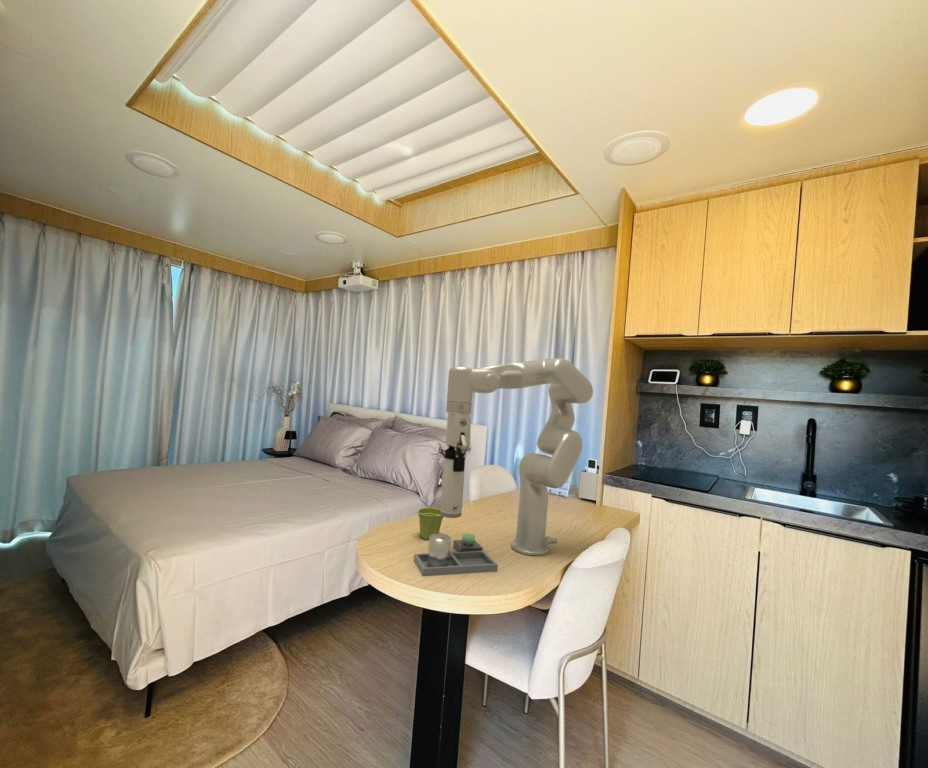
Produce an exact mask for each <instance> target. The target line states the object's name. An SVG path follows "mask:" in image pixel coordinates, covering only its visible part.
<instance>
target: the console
mask: <svg viewBox="0 0 928 768" xmlns="http://www.w3.org/2000/svg"><path fill="white" fill-rule="evenodd" d="M452 548H453V549H454V550H455V552H469V551H484V550H483V549H484V548H483V546H482V545H480V544H479V542H477V541H476V540H475V543H474V544H471V545H465V543H463V542H462V539H455V540H454V539H453V544H452Z"/></svg>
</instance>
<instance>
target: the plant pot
mask: <svg viewBox="0 0 928 768" xmlns="http://www.w3.org/2000/svg"><path fill="white" fill-rule="evenodd" d="M440 512H441V508H436V507H422V508H419V509H418V510H417V514H418V519H419V537H420V538H422V539H423V540H427V541H429V537H430V535H432V534H440V530H441V525H442V522H443V519H444V517H443V516H442V515H441V514H440Z"/></svg>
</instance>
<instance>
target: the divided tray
mask: <svg viewBox="0 0 928 768" xmlns="http://www.w3.org/2000/svg"><path fill="white" fill-rule="evenodd" d="M427 558H428V552H427V553H414V555H413V562H414V563H415V565H416V567H417V569H418V571H419V572H420V574H421V576H422V577H430V576H431V577H432V576H434V577H435V576H445V575H446V576H447V575H463V574H476V573H479V574H480V573H493V572H498V567H499V564H498V563H497V562H496V561H495V560H494V559H493V558H491V556H490V555H488V553H487V552H485V551H484V550H482V551H469V552H456V551H453V552H452V551H450V556H449V566H443V567H427Z"/></svg>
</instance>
